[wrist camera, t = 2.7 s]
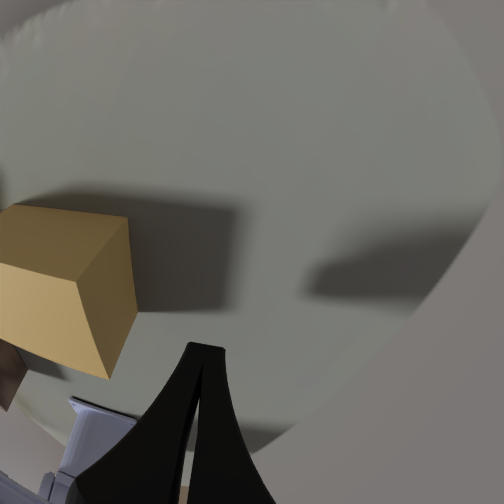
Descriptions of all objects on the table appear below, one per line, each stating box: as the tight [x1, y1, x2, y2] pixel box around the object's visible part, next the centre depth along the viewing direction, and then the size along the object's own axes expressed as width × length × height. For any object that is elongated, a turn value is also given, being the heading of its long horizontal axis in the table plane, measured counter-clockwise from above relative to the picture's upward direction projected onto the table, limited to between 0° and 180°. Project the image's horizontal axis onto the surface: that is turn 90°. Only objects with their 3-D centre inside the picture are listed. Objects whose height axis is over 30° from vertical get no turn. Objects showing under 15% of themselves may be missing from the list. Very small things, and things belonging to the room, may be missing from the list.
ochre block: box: [0, 204, 138, 380], centre depth 12 cm, size 6×8×5 cm
